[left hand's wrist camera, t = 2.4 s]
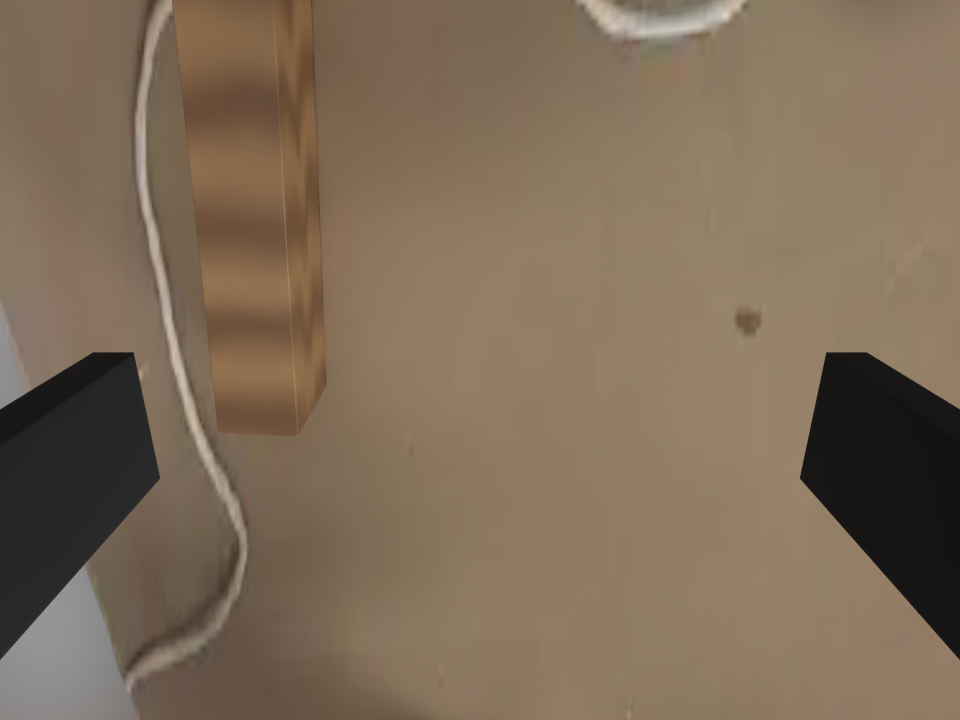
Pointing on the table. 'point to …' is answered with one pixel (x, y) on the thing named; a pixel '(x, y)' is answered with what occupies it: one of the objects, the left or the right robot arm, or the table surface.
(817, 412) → the left robot arm
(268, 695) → the table surface
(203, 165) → the bar
